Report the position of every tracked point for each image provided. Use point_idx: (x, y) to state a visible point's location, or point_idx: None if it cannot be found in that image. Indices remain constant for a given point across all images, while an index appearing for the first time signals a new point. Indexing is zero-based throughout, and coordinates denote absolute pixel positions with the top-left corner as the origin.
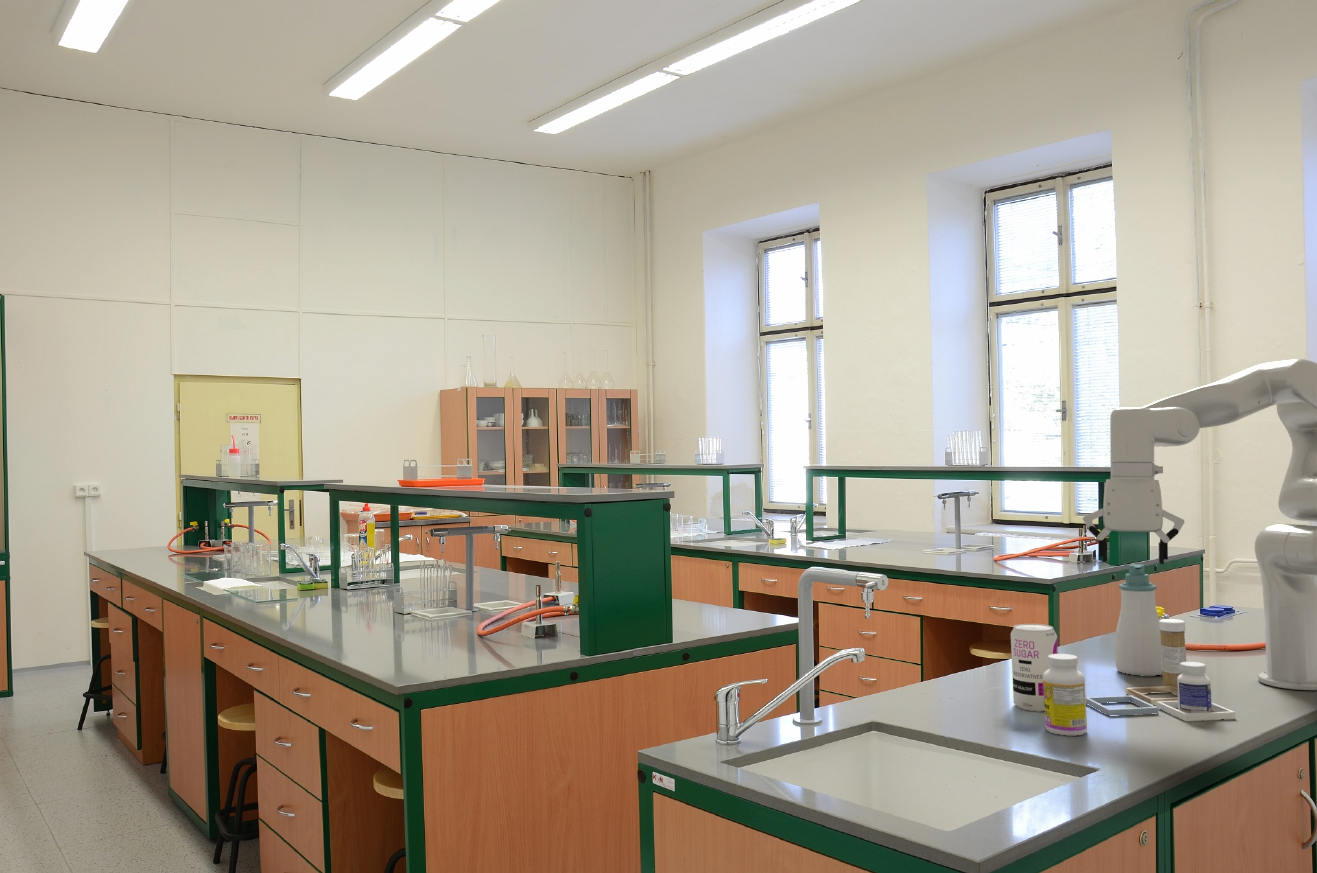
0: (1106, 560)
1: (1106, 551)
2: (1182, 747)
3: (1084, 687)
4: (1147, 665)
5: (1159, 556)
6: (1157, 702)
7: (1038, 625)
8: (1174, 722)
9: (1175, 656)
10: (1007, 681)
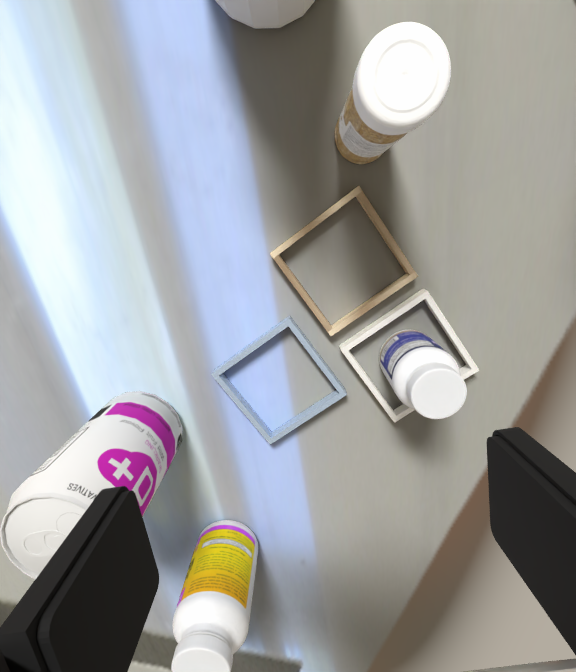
0: (155, 582)
1: (131, 649)
2: (390, 551)
3: (250, 612)
4: (289, 10)
5: (518, 561)
6: (342, 351)
7: (52, 500)
8: (374, 428)
9: (384, 148)
10: (10, 237)
